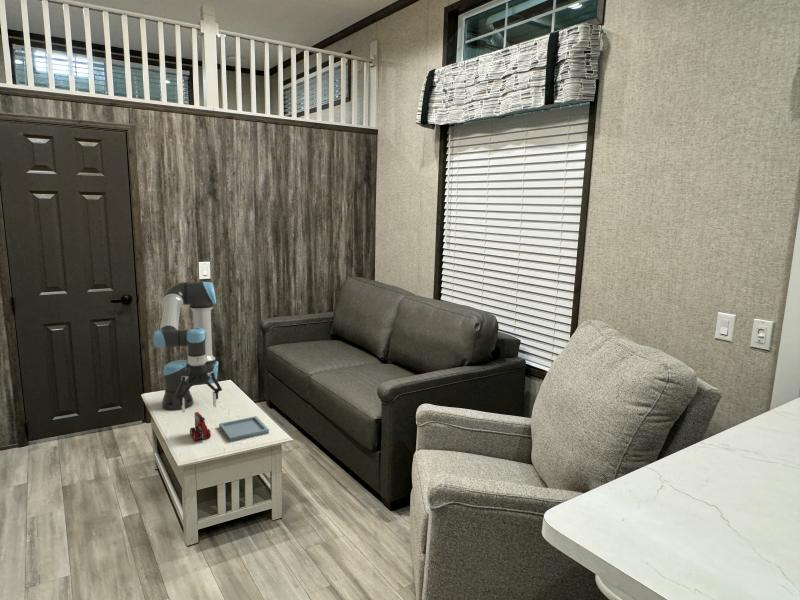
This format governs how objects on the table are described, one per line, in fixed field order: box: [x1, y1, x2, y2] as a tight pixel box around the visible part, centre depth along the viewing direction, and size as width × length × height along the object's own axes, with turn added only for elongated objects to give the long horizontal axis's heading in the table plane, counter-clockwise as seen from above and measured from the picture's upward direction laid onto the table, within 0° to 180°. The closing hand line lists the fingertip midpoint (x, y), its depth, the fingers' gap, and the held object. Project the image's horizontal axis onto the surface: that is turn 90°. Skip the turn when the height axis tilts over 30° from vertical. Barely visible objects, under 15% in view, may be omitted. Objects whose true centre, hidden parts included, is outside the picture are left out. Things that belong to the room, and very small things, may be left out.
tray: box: [218, 415, 270, 443], centre depth 253 cm, size 18×18×2 cm
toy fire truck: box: [189, 411, 212, 442], centre depth 244 cm, size 7×12×10 cm, turn 36°
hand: (199, 408), depth 242 cm, fingers open, 13 cm apart
